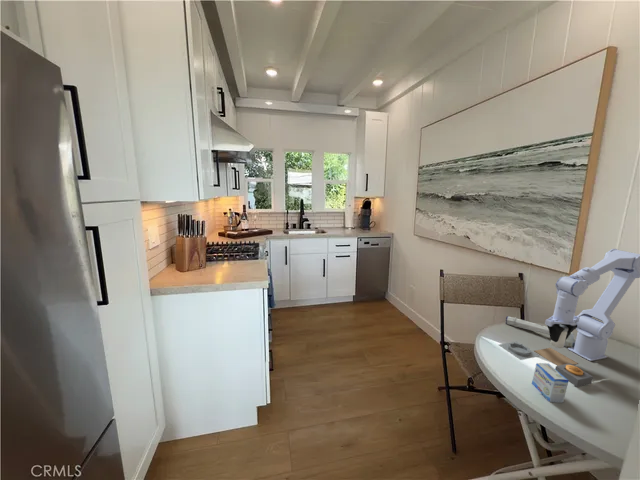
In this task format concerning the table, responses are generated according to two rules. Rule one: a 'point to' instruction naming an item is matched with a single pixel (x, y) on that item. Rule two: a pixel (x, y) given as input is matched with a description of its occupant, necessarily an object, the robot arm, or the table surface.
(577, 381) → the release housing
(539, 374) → the medicine box
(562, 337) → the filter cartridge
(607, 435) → the table surface
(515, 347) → the cartridge socket
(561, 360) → the tan board
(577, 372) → the release button
